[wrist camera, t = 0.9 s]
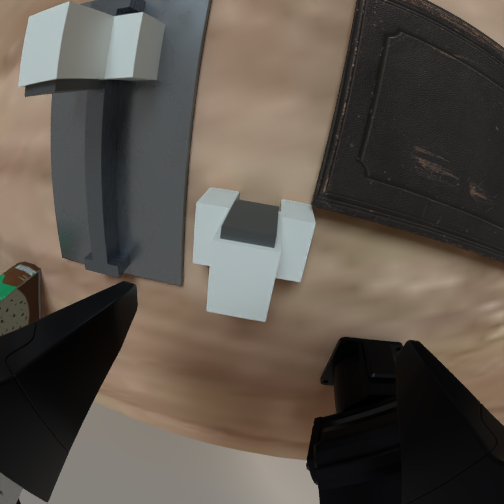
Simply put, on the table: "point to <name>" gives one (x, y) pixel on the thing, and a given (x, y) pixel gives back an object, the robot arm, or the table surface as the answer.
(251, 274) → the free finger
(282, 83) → the table surface
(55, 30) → the block
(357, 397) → the robot arm
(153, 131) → the rail
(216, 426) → the table surface
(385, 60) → the hardcover book
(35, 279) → the food container
